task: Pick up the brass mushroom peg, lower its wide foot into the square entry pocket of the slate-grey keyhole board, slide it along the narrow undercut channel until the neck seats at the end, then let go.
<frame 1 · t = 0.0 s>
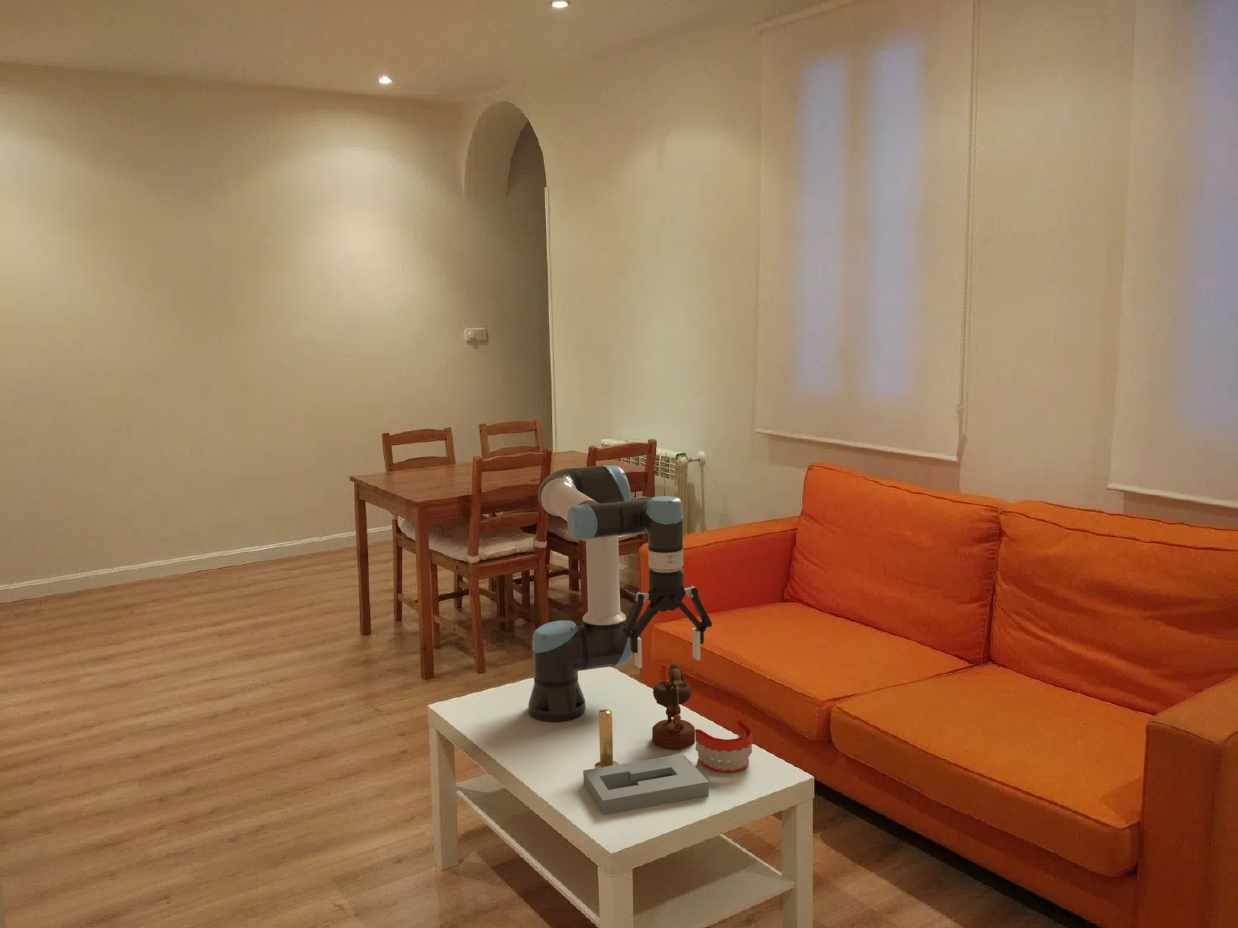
hand: (667, 662, 222), 28 cm above the table, fingers open, 13 cm apart
toy: (728, 766, 234), on the table
keyhole board: (645, 789, 223), on the table
brass peg: (606, 769, 234), on the table
music box: (672, 740, 249), on the table
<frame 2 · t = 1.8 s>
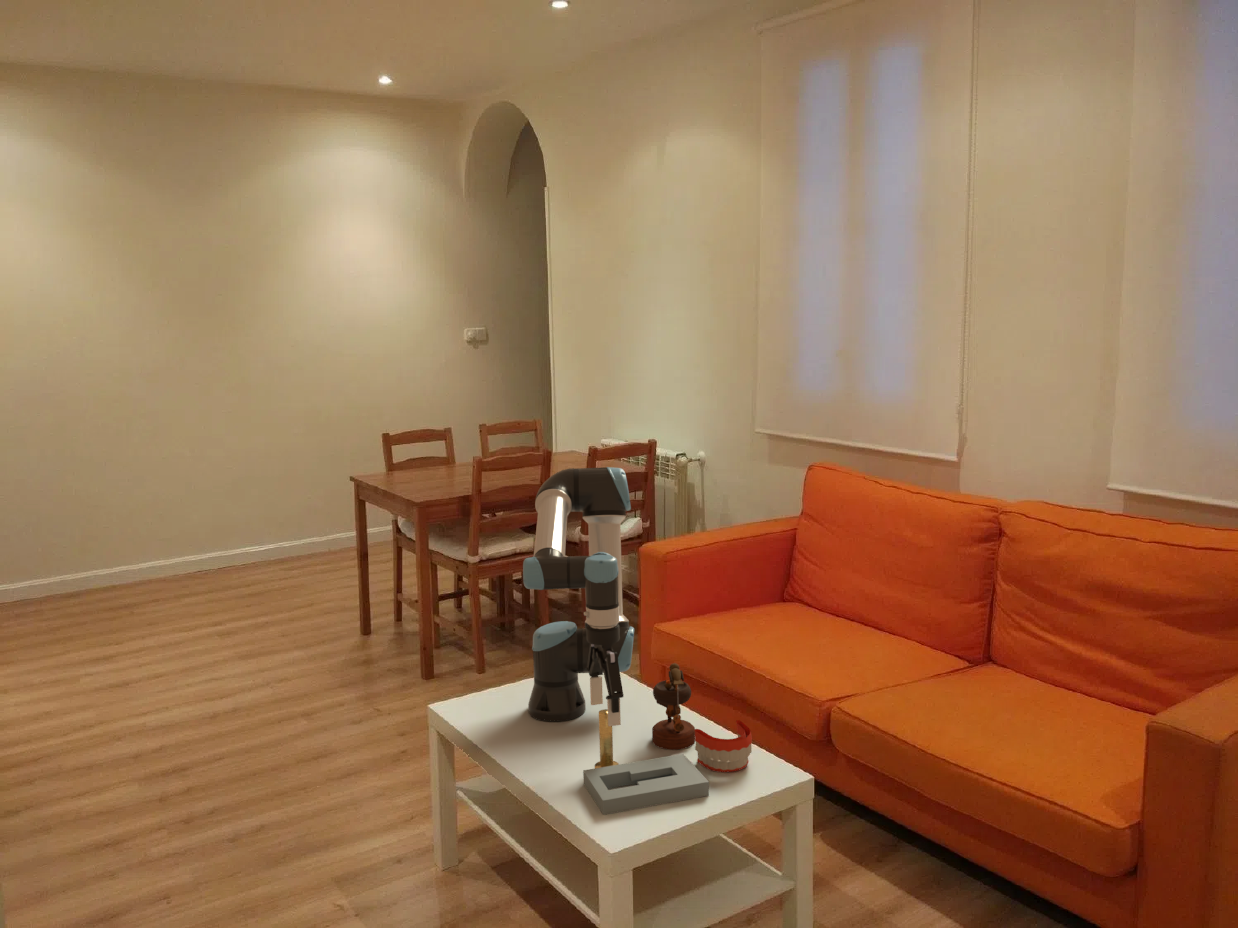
hand: (605, 714, 231), 14 cm above the table, fingers open, 13 cm apart
nothing on the table moved.
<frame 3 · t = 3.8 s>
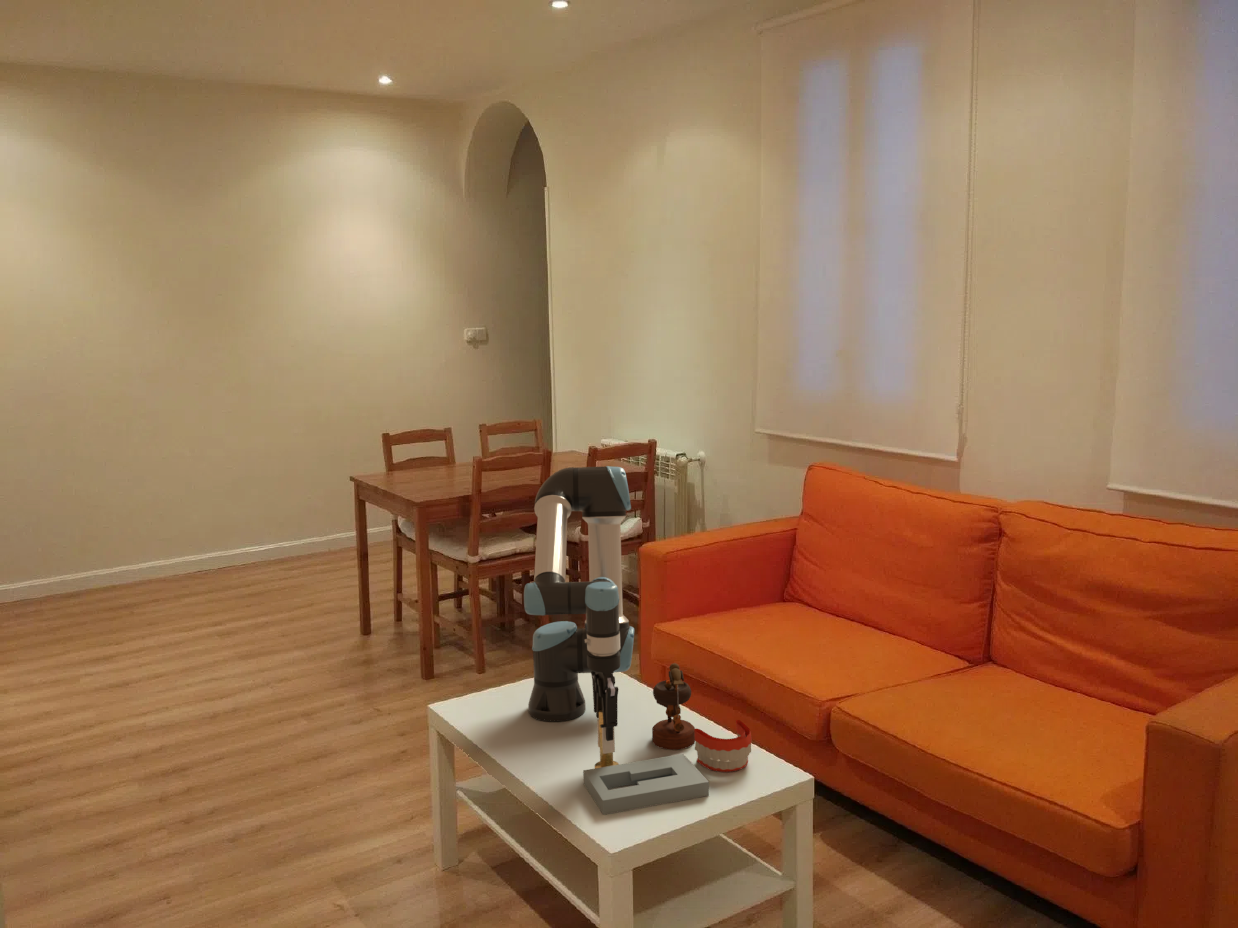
hand: (606, 748, 233), 5 cm above the table, fingers closed on brass peg, 3 cm apart
brass peg: (606, 769, 234), on the table, touching gripper
everything else where it was.
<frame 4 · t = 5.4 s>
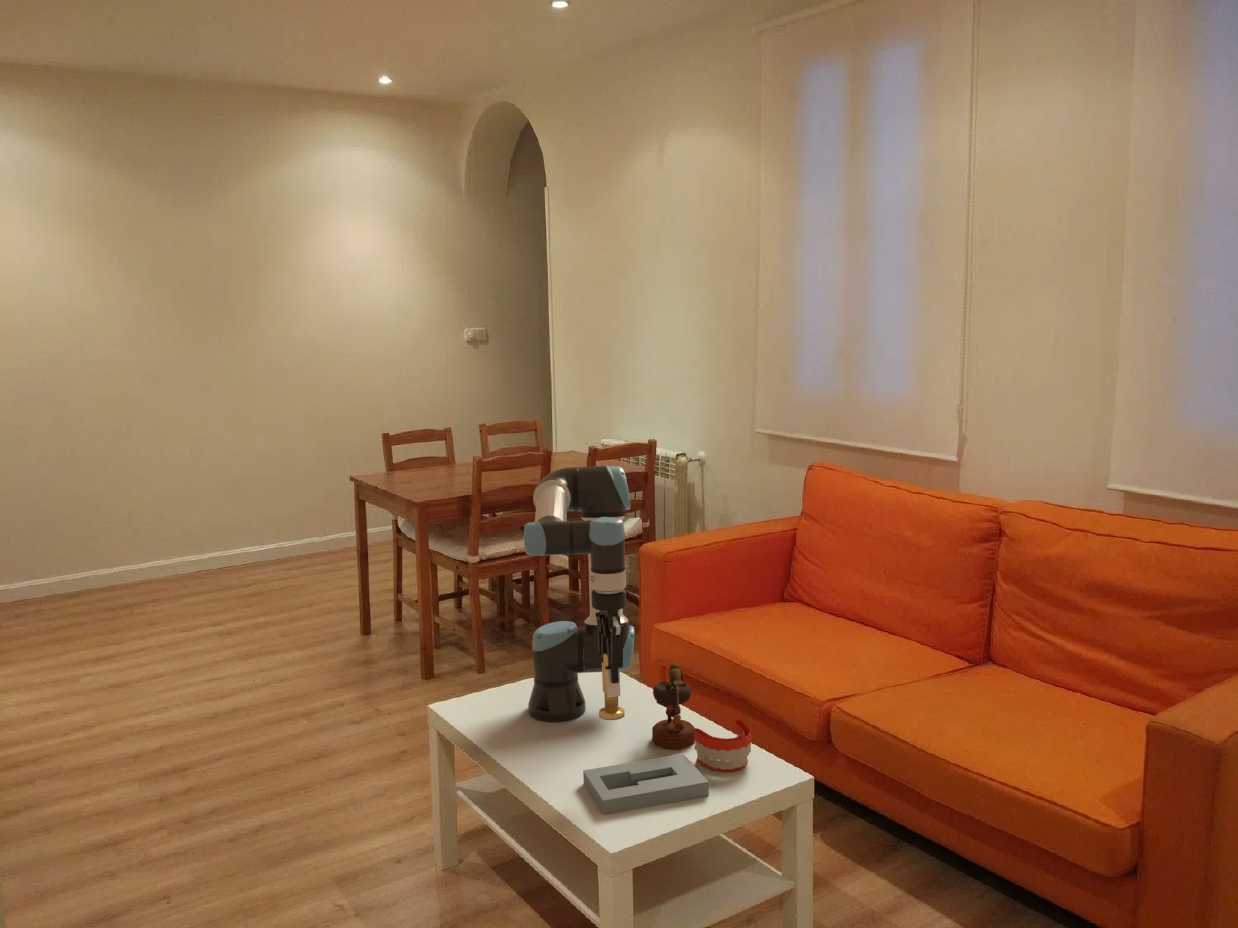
hand: (611, 693, 223), 21 cm above the table, fingers closed on brass peg, 3 cm apart
brass peg: (611, 715, 223), point 16 cm above the table, touching gripper
everything else where it was.
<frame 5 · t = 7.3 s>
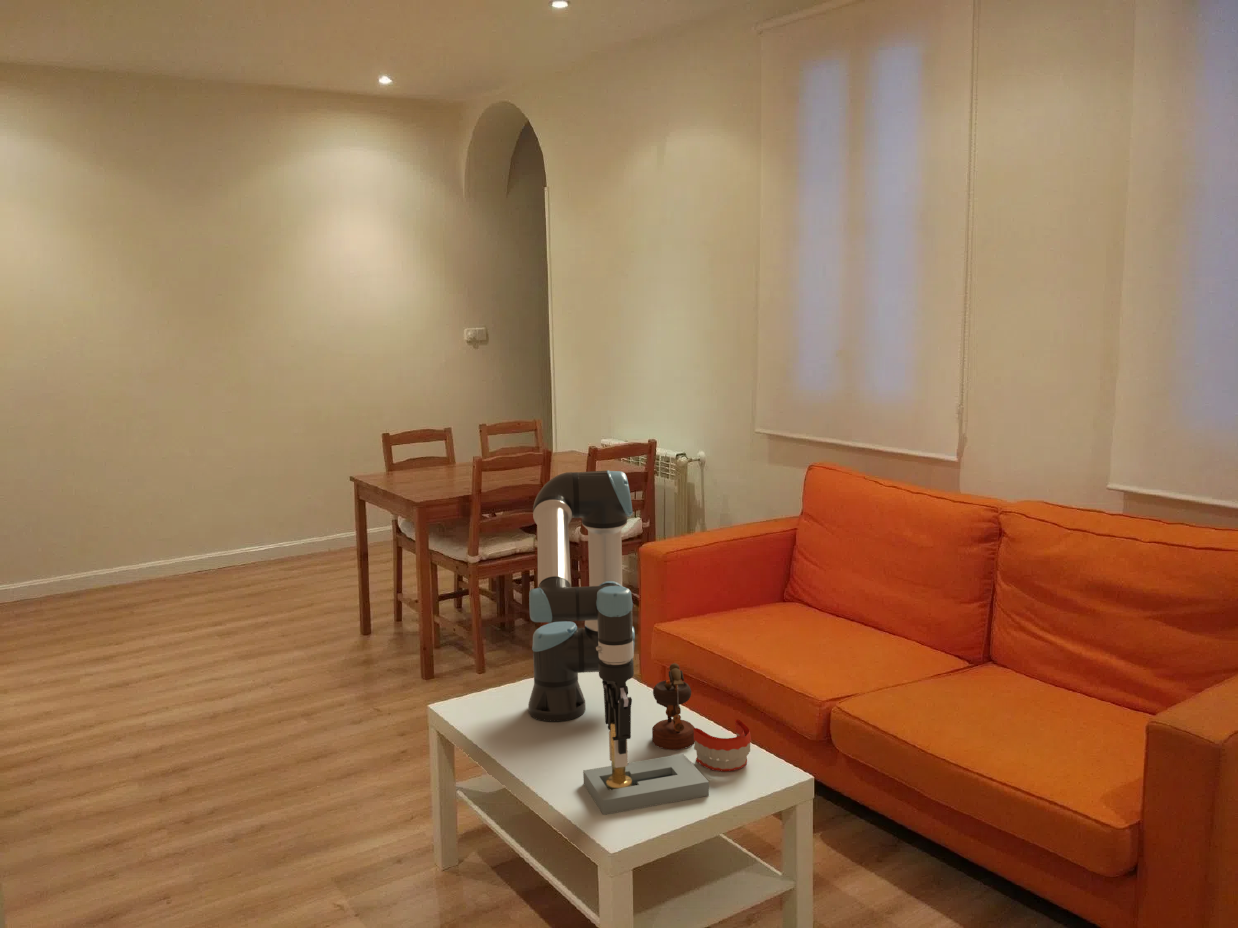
hand: (618, 762, 220), 7 cm above the table, fingers closed on brass peg, 3 cm apart
brass peg: (619, 784, 221), point 2 cm above the table, touching gripper
everything else where it was.
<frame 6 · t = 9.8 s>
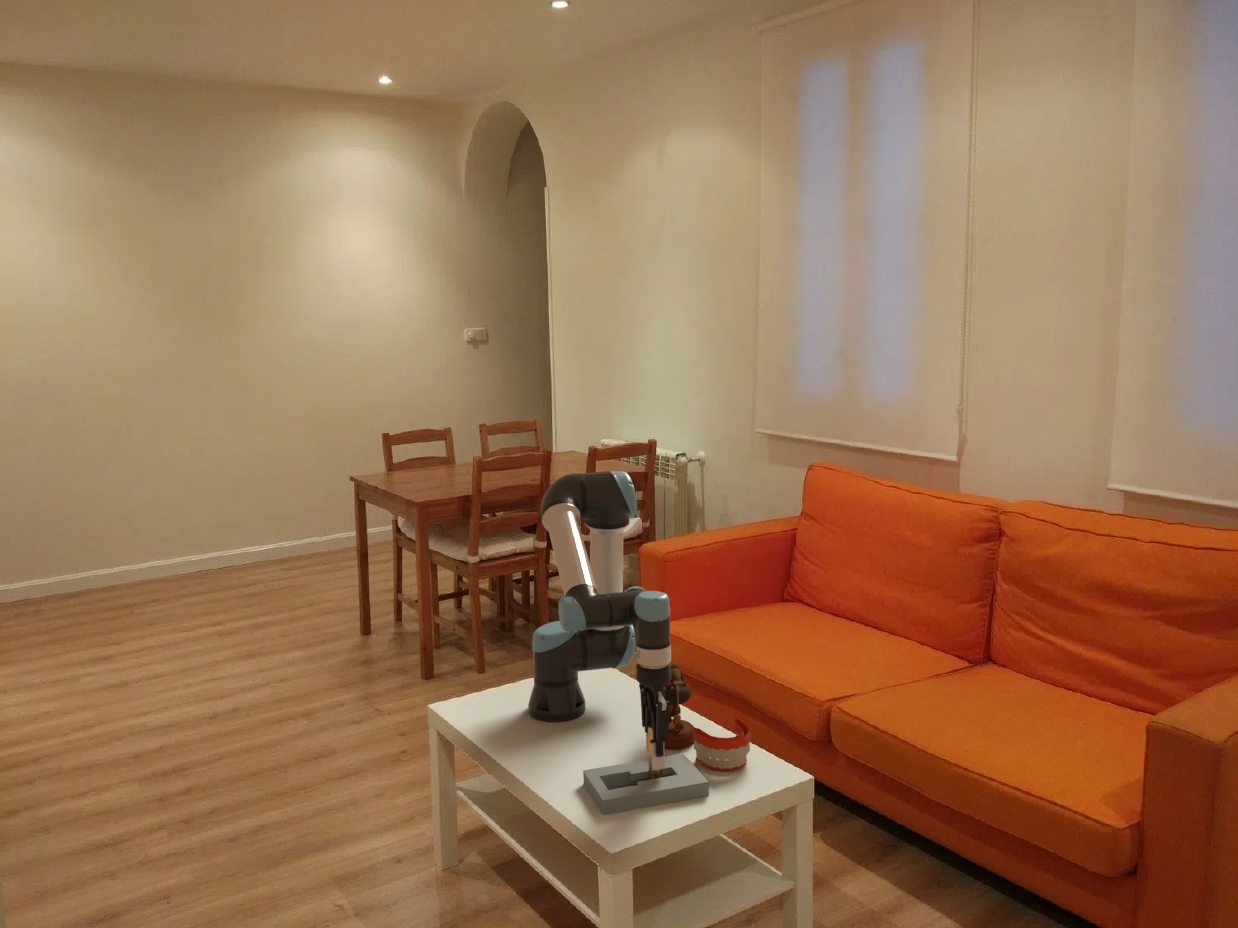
hand: (655, 764, 223), 5 cm above the table, fingers closed on brass peg, 3 cm apart
brass peg: (655, 787, 224), resting in keyhole board, touching gripper
everything else where it was.
when the fingers open (5 cm above the table, at t = 11.4 s): brass peg stays where it is, resting in keyhole board.
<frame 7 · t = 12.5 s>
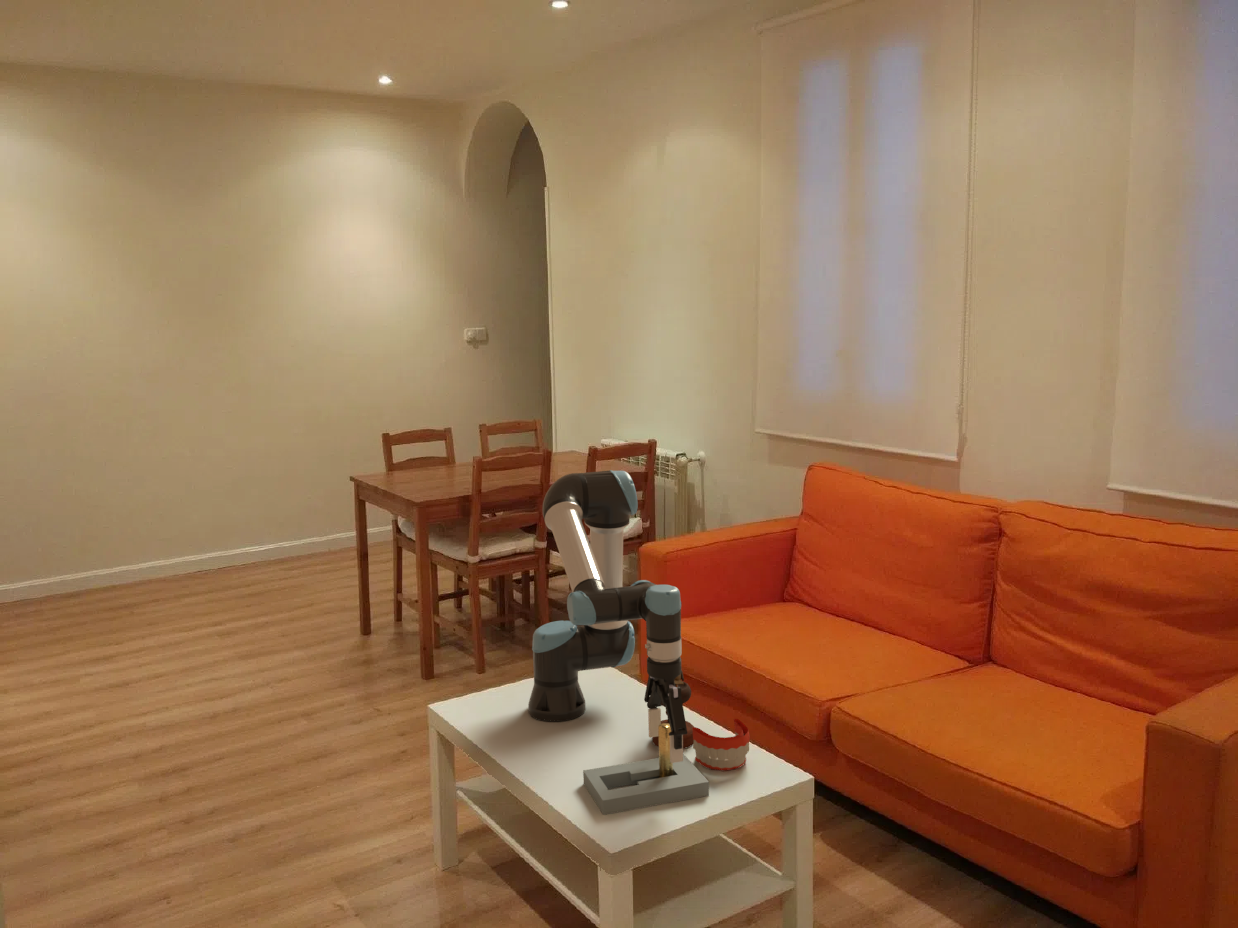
hand: (665, 748, 224), 9 cm above the table, fingers open, 13 cm apart
brass peg: (666, 785, 225), resting in keyhole board
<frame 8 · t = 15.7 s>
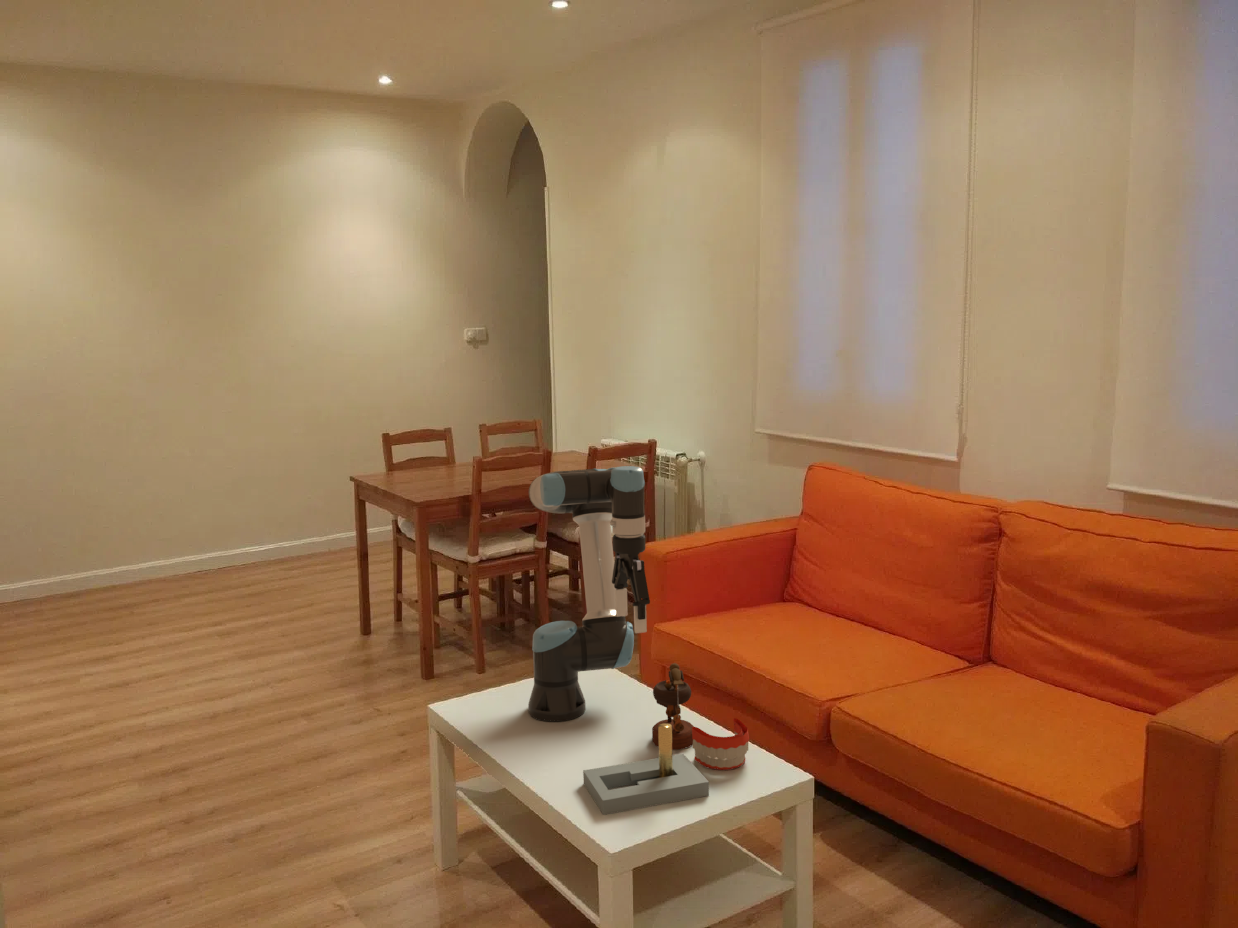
hand: (630, 623, 235), 33 cm above the table, fingers open, 13 cm apart
at the end: brass peg 0.3 cm from the target spot on the keyhole board, point 0.0 cm above the keyhole board's base; brass peg tilted 0°; the gripper is holding nothing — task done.
